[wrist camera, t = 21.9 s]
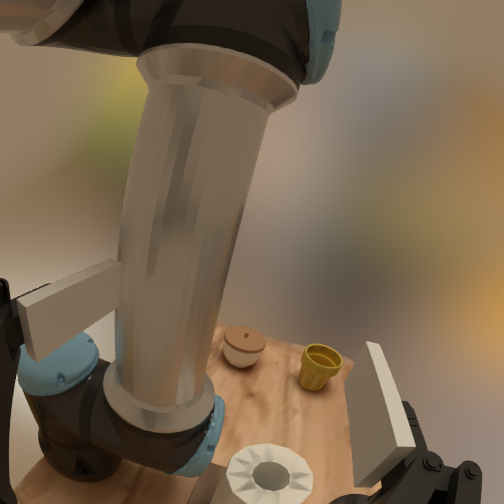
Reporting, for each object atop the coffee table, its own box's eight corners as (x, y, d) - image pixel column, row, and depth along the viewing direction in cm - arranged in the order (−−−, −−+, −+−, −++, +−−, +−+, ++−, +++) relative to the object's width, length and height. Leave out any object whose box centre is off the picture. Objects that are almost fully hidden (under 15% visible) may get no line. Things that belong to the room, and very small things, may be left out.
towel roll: (200, 526, 22) (217, 498, 19) (218, 480, 32) (238, 435, 28) (267, 541, 21) (309, 516, 17) (277, 494, 31) (314, 453, 27)
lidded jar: (224, 344, 74) (231, 316, 72) (261, 355, 73) (270, 328, 71) (213, 365, 64) (221, 336, 62) (255, 378, 63) (265, 349, 61)
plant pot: (335, 389, 64) (350, 361, 62) (309, 401, 58) (325, 372, 56) (311, 367, 72) (323, 340, 70) (284, 376, 66) (296, 347, 64)
